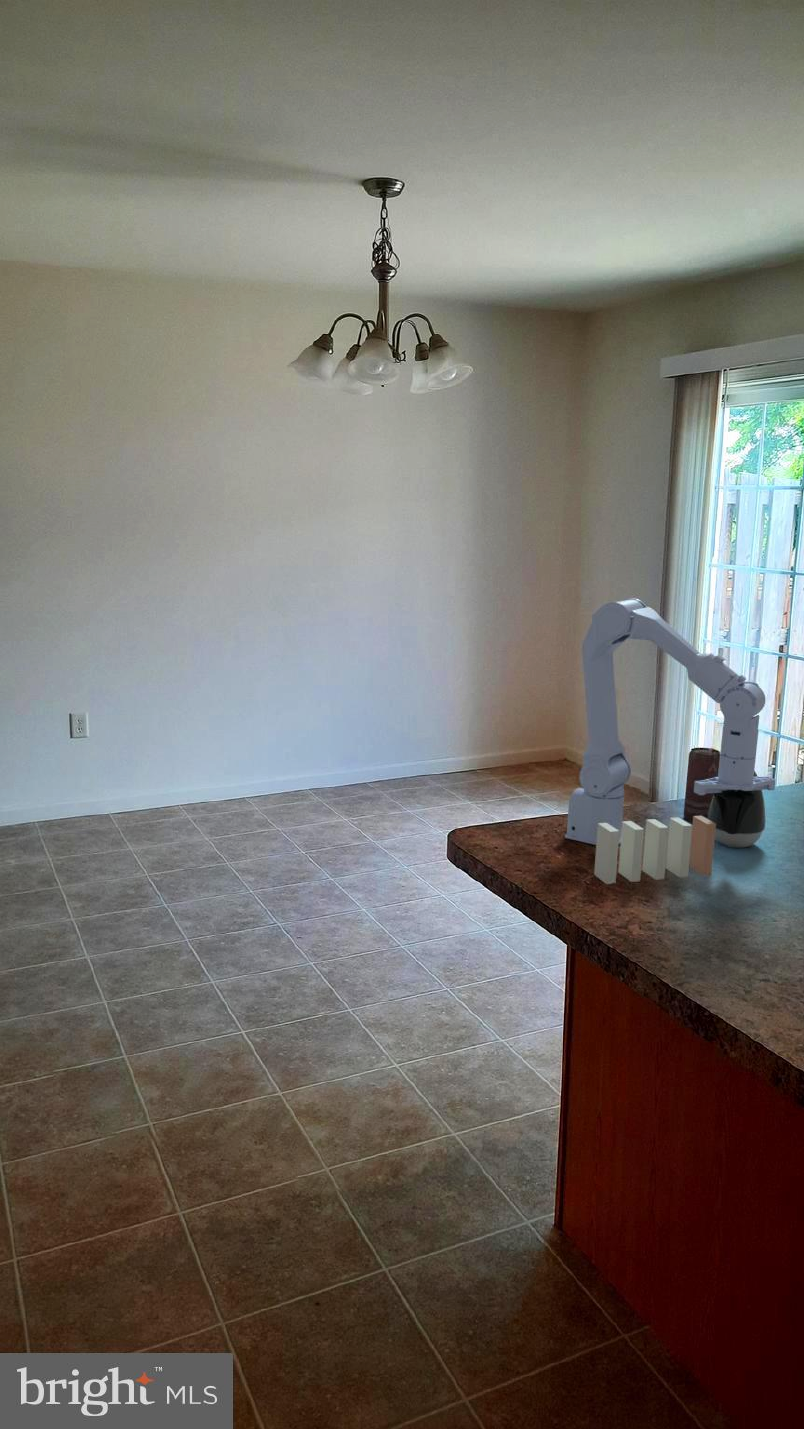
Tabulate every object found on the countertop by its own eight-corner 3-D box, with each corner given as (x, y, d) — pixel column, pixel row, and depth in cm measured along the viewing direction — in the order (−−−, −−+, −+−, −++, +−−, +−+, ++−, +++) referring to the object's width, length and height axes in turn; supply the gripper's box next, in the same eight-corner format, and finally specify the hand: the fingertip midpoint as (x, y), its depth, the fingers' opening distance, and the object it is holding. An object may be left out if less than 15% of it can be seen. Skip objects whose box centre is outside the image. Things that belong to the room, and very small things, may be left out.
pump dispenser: (692, 837, 196) (699, 758, 192) (736, 831, 200) (744, 754, 196) (729, 855, 186) (737, 772, 183) (775, 848, 191) (783, 768, 187)
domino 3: (655, 879, 174) (659, 828, 172) (642, 870, 178) (646, 819, 176) (664, 878, 174) (668, 827, 172) (650, 869, 178) (654, 819, 176)
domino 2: (631, 881, 173) (635, 829, 171) (618, 872, 177) (622, 821, 175) (639, 881, 173) (644, 829, 171) (626, 871, 177) (630, 820, 175)
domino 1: (606, 884, 171) (610, 831, 169) (594, 874, 175) (597, 823, 173) (615, 883, 172) (619, 831, 170) (602, 873, 176) (606, 822, 174)
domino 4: (679, 877, 175) (683, 826, 173) (665, 868, 179) (669, 817, 177) (687, 876, 176) (692, 825, 174) (673, 867, 180) (678, 817, 178)
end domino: (702, 875, 176) (707, 824, 175) (688, 866, 181) (693, 816, 179) (711, 874, 177) (716, 823, 175) (696, 865, 181) (701, 815, 179)
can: (719, 817, 208) (726, 749, 205) (710, 826, 202) (716, 755, 199) (689, 812, 211) (695, 744, 208) (679, 820, 206) (685, 750, 203)
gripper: (713, 763, 170) (706, 842, 173) (789, 759, 174) (781, 836, 177) (690, 752, 177) (683, 829, 180) (763, 748, 181) (755, 823, 184)
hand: (730, 832), depth 179 cm, fingers closed
